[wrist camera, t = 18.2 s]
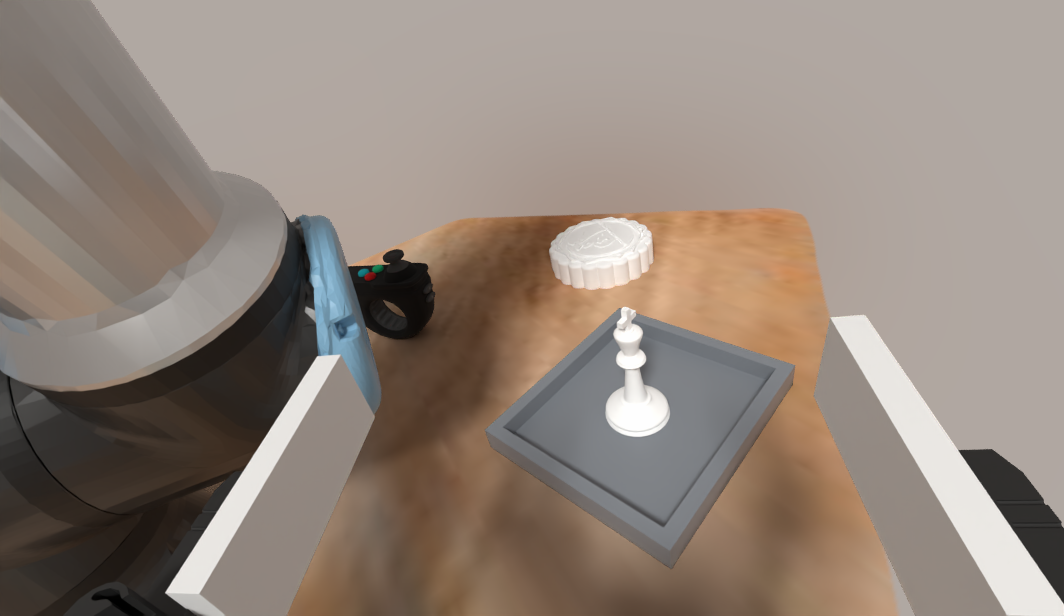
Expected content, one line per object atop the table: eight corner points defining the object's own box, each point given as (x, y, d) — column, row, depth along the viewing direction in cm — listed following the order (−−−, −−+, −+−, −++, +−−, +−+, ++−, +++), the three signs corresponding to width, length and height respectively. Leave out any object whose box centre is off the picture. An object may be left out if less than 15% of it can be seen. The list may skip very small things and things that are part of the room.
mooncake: (540, 258, 64) (534, 233, 62) (625, 229, 66) (623, 204, 64) (574, 304, 54) (569, 276, 52) (673, 269, 56) (672, 240, 54)
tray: (490, 447, 40) (484, 430, 39) (621, 324, 49) (619, 307, 48) (671, 569, 30) (669, 550, 28) (792, 384, 39) (795, 365, 38)
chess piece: (593, 420, 39) (573, 319, 34) (627, 381, 42) (614, 282, 36) (649, 447, 36) (637, 341, 31) (681, 403, 39) (677, 298, 33)
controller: (438, 347, 52) (406, 265, 47) (342, 343, 56) (302, 267, 51) (454, 322, 55) (426, 242, 50) (362, 319, 60) (327, 246, 54)
